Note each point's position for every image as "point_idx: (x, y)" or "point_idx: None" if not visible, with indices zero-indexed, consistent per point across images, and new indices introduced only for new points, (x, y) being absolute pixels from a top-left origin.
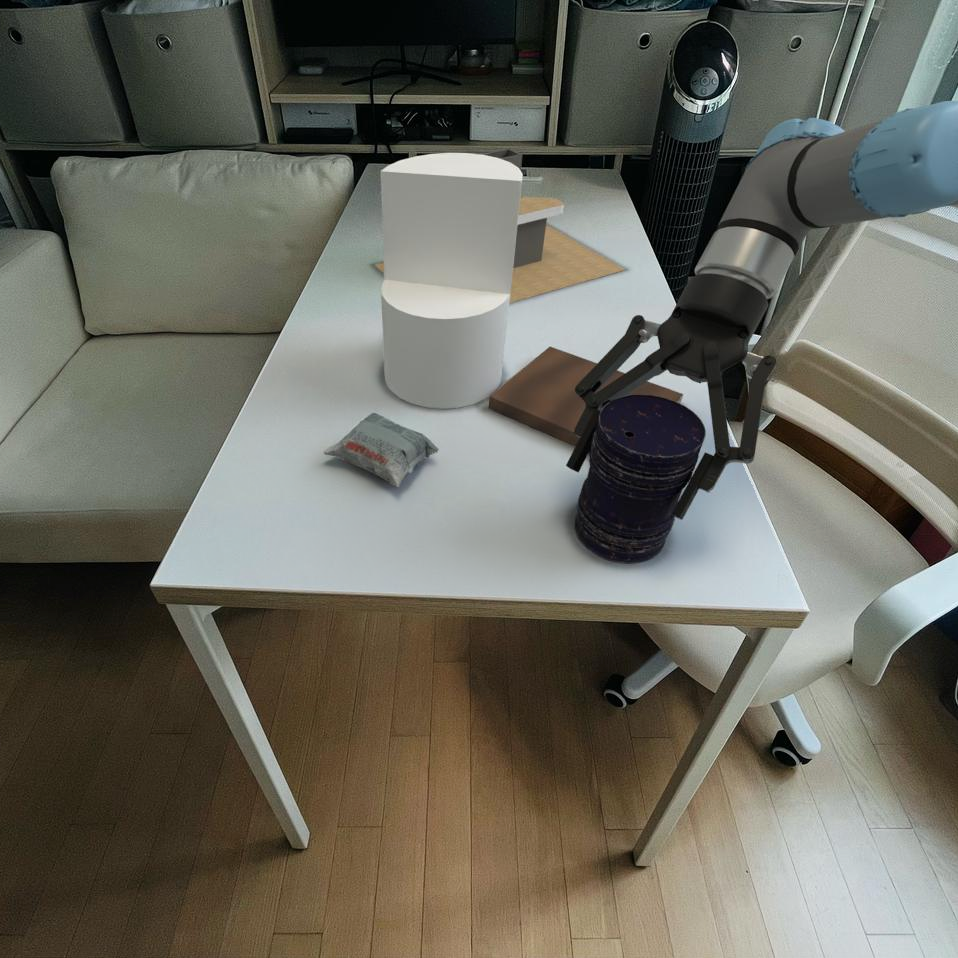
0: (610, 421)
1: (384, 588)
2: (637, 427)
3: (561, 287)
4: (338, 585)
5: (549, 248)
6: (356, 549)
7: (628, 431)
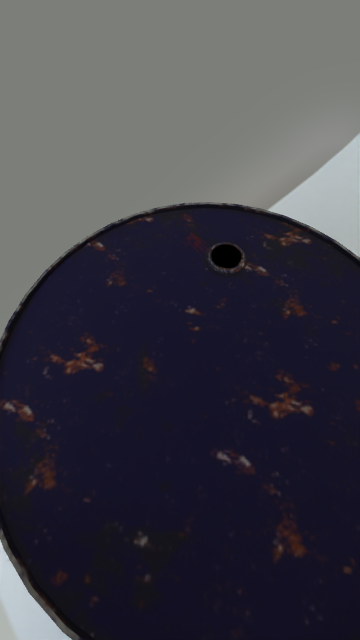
0: (322, 278)
1: (294, 190)
2: (235, 312)
3: None
4: (319, 170)
5: None
6: (351, 197)
7: (238, 264)
